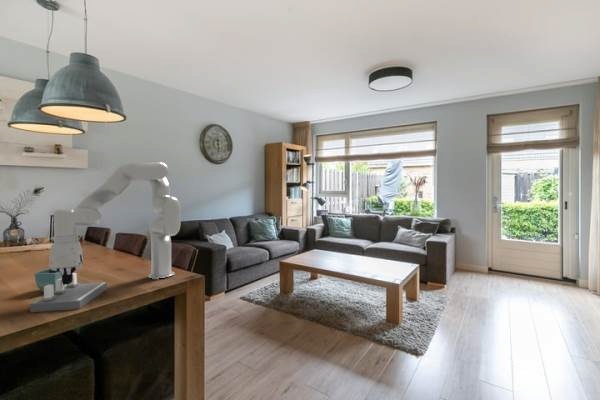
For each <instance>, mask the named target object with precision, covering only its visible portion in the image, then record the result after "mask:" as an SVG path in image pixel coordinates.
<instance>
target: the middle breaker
mask: <svg viewBox="0 0 600 400" xmlns="http://www.w3.org/2000/svg"><path fill="white" fill-rule="evenodd" d="M64 286H65V285H63V282H62V279H58V280H56V290H55V291H54V294H58V293H63V292H65V291H67V288H65V289H64Z"/></svg>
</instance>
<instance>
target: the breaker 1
mask: <svg viewBox="0 0 600 400" xmlns="http://www.w3.org/2000/svg"><path fill="white" fill-rule="evenodd" d="M43 297H44V298H42V297H41V298H42V299H41V301H50V300H52V299H54V298H56V295H54V284H53V285H47V286H44V292H43Z"/></svg>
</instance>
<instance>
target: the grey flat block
mask: <svg viewBox="0 0 600 400" xmlns="http://www.w3.org/2000/svg"><path fill="white" fill-rule="evenodd" d="M67 285H68V284H67ZM67 285H66V284H65V285H64V289H65V288H67V291H65V292H63V293H58V294H54V295H56V298H54V299H52V300H50V301H41V299H42V298H44V296H42V297H40V298H38V299H36V300H35V301H33V302H32V303H30V304H29V306H30V307H29V308H30V309H29V312H30V313H38V312H39V313H40V312H51V311H54V312H55V311H64V310H65V311H68V310H69V311H70V310H80V309H82V308H83V307H84V306H86V304H88V303H89V302H91V301H92V300H94V299H95V298H96V297H98V296H99V295H101V294H102V293H103V292H104V291H106V290H107V289H108V282H106V281H105V282H104V281H102V282H88V283H87V282H85V283H79V284H78V285H77V286H75V287H67Z"/></svg>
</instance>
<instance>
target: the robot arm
mask: <svg viewBox="0 0 600 400" xmlns="http://www.w3.org/2000/svg"><path fill="white" fill-rule="evenodd" d="M168 175H169V167H168V165H167V164H166V163H164V162H163V161H162V162H161V161H153V162H152V161H150V162H147V161H146V162H129V163H123V164H121V165H120V166H119V167H117V169H116V170H115V171H114V172H113V173H112V174H111V175H110V176H109V177H108V178H107V179H106V180H105V181H104V182H103V184H102V185H100V186H99V187H98V188H96V189H95V190H94V191H93V192H91V193H90V194H88V195H87V196H86V197H85V198H84V199H83V200H82V201H81V202H80V203H79V204H78V205H77V206H76V207H75V208H73V209H72V208H71V209H70V208H63V209H56V210H55V211H54V212H53V236H51V237H50V241H53V242H54V243H51V244H50V245H51V246H50V252H49V257H48V258H49V260H48V261H49V262H48V266H49V269H50V268H51V270H54V271H58V272H59V273H60V275H62V282H63V285H64V286H65V285H67V284H70V283H71V282H72V280H73V274H72V273H75V272H76V271H77V270H81V269H82V268H83V267H84V266H83V263H84V258H83V257H84V256H83V248H82V244H81V241H79V231H78V230H79V228H78V227H79V226H83V227H84V226H89V227H90V226H95V225H97V224H99V223H100V222H101V220H102V216H103V215H102V213H101V212H100V211H99V210H100V209H101V208H102V207H104V206H105V205H107V204H108V203H110V202H113V201H115V200H117V199H119V198H120V197H121V196H122V194H124V192H125V191H126V190H127V189H128V188H129V187H130V186H131V184H132V183H133V182H140V181H148V182H149V183H150V185H151V192H152V193H151V195H152V196H151V207H152V211H153V212H154V213H156V214H159V215H162V216H156V217H154V218H152V219H151V220H150V222H149V224H148V225H149V226H148V228H149V229H148V231H149V234H150V250H151V251H150V253H151V254H150V256H151V257H150V258H151V259H150V260H151V262H150V263H151V265H150V266H151V267H150V273H149V274H148V275H147V278H148V277H149V278H148V279H150V278H152V279H151V280H160V279H159V278H165V277H169V276H172V275H174V276H175V271H173V270H172V239H171V237H173V236H176V235H177V234H178V233H179V232H180V230H181V224H182V222H181V221H182V219H181V218H182V215H181V214H182V213H181V212H182V211H181V210H182V209H181V207H182V206H181V203H180V201H179V200H178V198H177V197H174V196H172V195H171V189H170V188H171V187H170V182H169V181H168V178H167V176H168ZM67 268H68V269H67ZM172 277H173V276H172ZM169 278H170V277H169ZM165 279H166V278H165Z"/></svg>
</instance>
